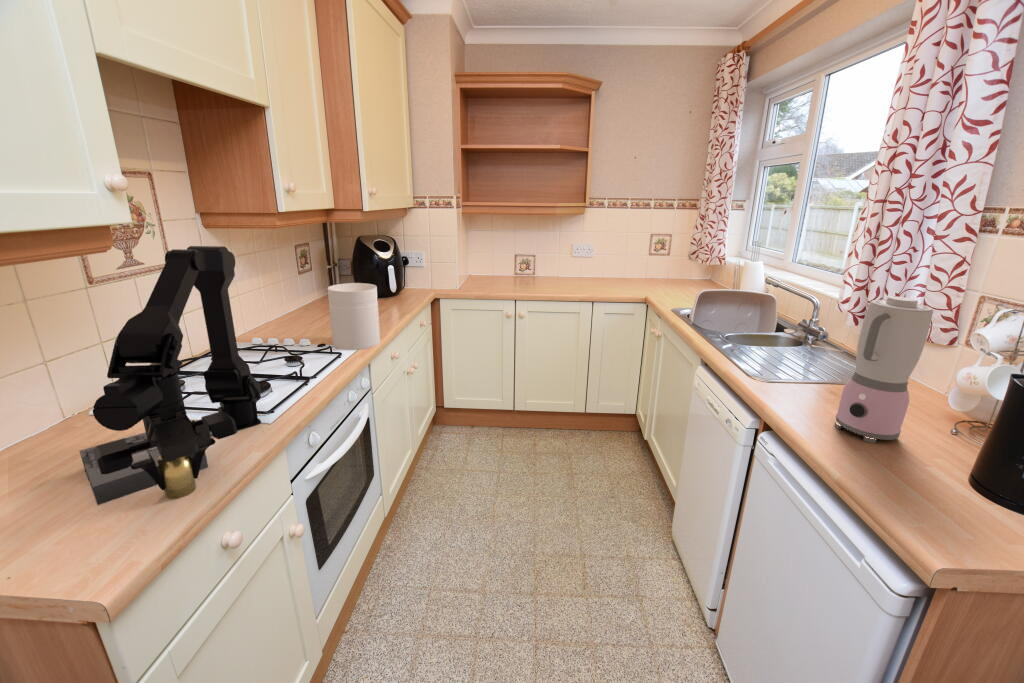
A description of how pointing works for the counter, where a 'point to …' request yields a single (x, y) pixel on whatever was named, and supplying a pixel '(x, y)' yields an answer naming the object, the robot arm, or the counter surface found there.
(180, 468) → the bushing
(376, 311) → the canister
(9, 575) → the counter surface
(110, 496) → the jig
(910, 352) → the blender
